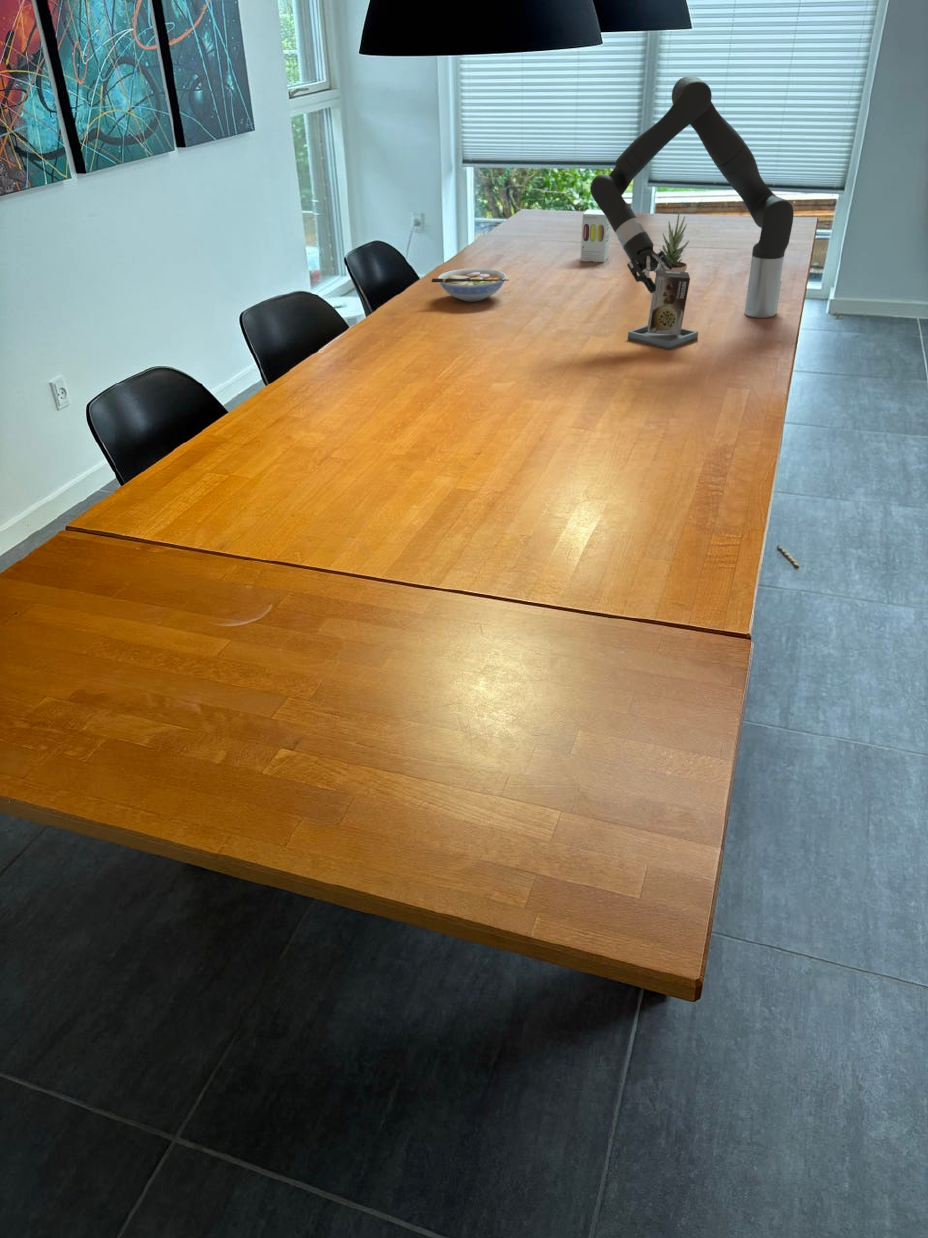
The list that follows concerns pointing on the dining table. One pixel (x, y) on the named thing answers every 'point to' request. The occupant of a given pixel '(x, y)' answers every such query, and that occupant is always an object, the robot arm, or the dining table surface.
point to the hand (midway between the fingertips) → (663, 288)
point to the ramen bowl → (471, 283)
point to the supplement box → (595, 236)
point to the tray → (662, 338)
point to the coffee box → (668, 302)
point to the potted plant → (675, 247)
